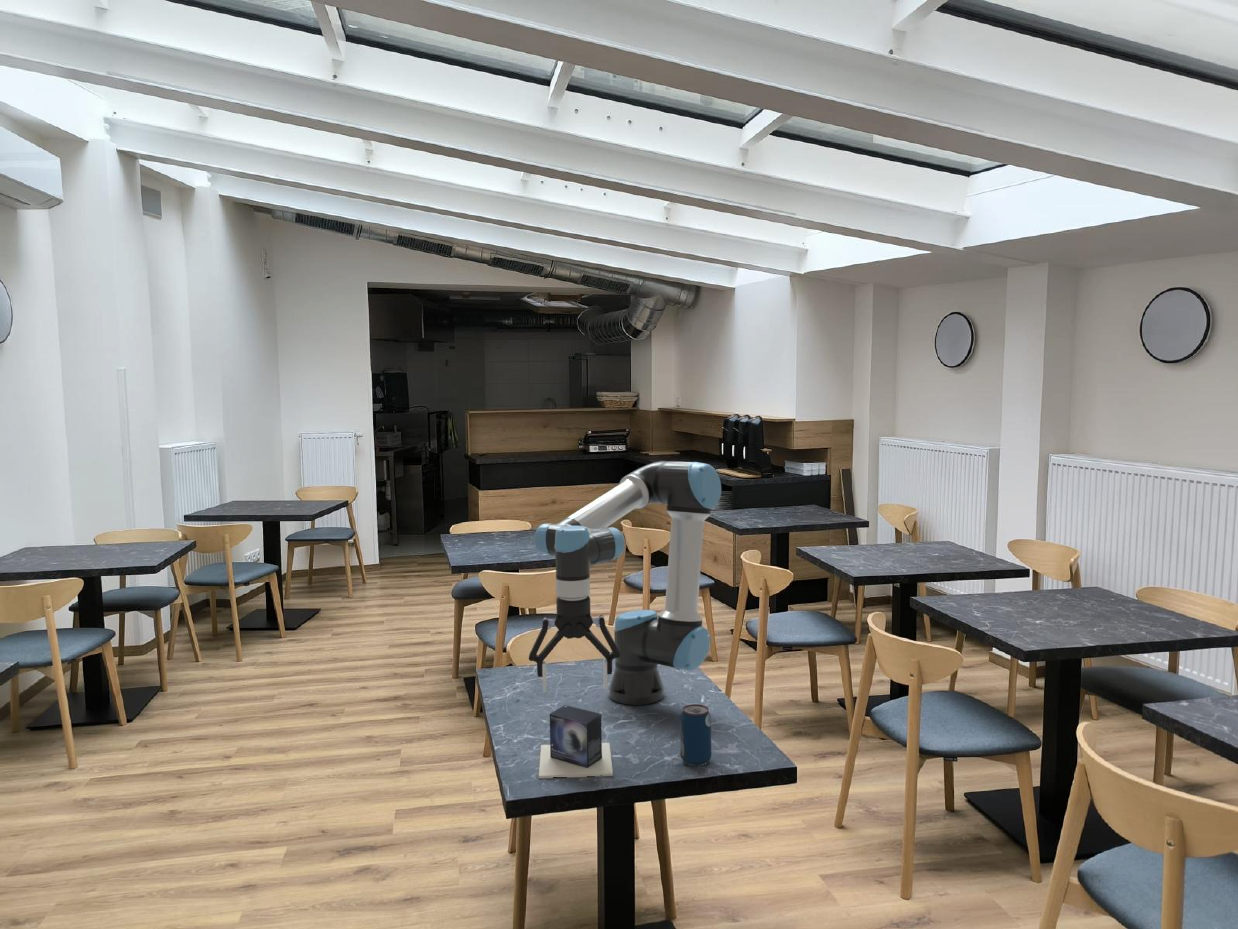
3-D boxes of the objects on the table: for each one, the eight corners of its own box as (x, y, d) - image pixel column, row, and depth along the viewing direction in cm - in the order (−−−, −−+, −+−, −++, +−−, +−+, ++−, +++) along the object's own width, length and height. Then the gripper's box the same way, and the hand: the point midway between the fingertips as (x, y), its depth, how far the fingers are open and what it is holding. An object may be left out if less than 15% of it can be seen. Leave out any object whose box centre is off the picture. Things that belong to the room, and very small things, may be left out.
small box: (548, 758, 189) (547, 713, 188) (565, 748, 194) (564, 704, 194) (586, 769, 183) (586, 722, 182) (603, 758, 189) (602, 713, 188)
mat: (609, 745, 197) (609, 742, 197) (612, 775, 181) (612, 773, 181) (541, 747, 196) (541, 745, 196) (538, 778, 180) (538, 775, 180)
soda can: (717, 760, 188) (717, 708, 187) (697, 770, 184) (697, 717, 183) (693, 751, 193) (693, 701, 192) (674, 761, 188) (673, 709, 187)
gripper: (628, 590, 190) (629, 681, 192) (517, 593, 189) (520, 685, 191) (630, 598, 183) (632, 693, 185) (515, 602, 181) (518, 697, 183)
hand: (575, 689), depth 188 cm, fingers open, 13 cm apart
